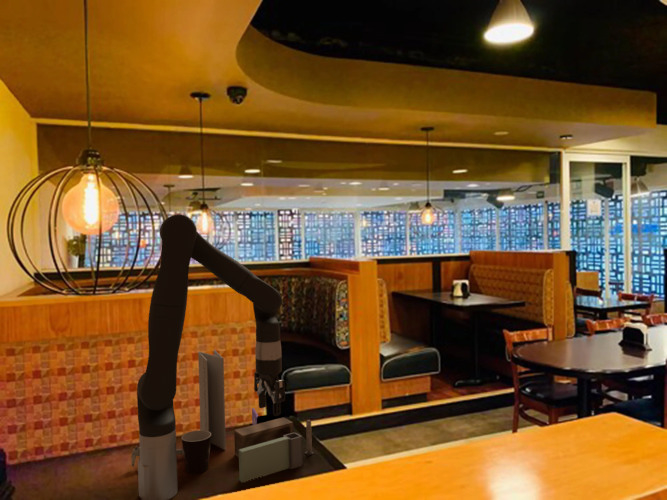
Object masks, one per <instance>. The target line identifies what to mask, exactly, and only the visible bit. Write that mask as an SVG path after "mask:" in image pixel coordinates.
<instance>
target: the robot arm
mask: <svg viewBox="0 0 667 500" xmlns="http://www.w3.org/2000/svg"><path fill="white" fill-rule="evenodd" d="M159 236H160V240H161V250H160V251H161V252H160V253H161V254H160V255H161V256H160V264H159V270H158V273H157V277H156V279H155V281H154V282H155V283H154V285H153V289H152V294H151V297H150V303H149V304H150V305H149V312H148V320H147V324H148V325H147V339H148V340H147V341H148V358H147V365H146V369H145V372H144V373H142V374H141V376H140V377H139V379H138V382H137V385H136V397H137V398H136V401H137V419H138V420H137V423H138V429H139V431H138V432H139V446H140V456H139V457H140V460H139V459H138V460H137V476H138V477H137V478H138V496H139V498H140V499H141V500H171V499H172V498H174V497H175V496H176V495H177V493H178V466H177V465H178V464H177V463H178V462H177V461H178V460H177V456H178V455H176V449H177V429H176V427H177V423H176V421H177V420H176V415H175V409H174V399H175V397H176V395H177V376H178V375H177V373H178V355H179V350H180V346H181V340H182V336H183V330H184V325H185V320H186V313H187V303H188V291H189V269H190V263H191V259H193V260H194V261H196V262H197V263H198V264H200V265H201V266H203V267H204V268H205V269H207V270H208V271H209V272H210V273H212V274H213V275H214V276H215V277H216V278H218V279H219V280H220V281H221V282H223V283H224V284H225V285H226V286H228V287H229V288H231V289H232V290H233V291H235V292H236V293H238V294H239V295H241V296H243V297H245V298H246V299H248V300H249V301H250V302H251V303H252V306H253V315H254V320H255V348H254V349H255V351H254V353H255V372H254V373H253V374H254V375H253V376H254V377H253V378H254V379H253V381H254V382H253V386H254V387H253V390H254V392H255V393H256V395H257V397H258V408H259V409H265V408H266V407H267V393H268V396H269V397H271V400H272V414H273V415H274V416H278V415H280V414H281V413H282V410H281V409H282V408H281V406H282V405H281V403H282V402H286V385H285V384H286V383H285V380H284V379H279V376H278V375H279V374H280V373H281V372H282V371H283V369H282V367H283V365H282V363H283V361H282V358H283V357H282V344H281V343H282V342H281V326H280V321H279V320H278V315H277V311H278V310H279V309H280V308H281V307H282V304H283V297H282V295H281V293H280V292H279V291H278V290H277V289H276V288H274V287H273V286H271V285H270V284H269V283H267V282H266V281H264V280H262V279H261V278H259V277H258V276H257V275H256V274H254V273H253V272H252V271H251V270H249V269H248V268H247V267H246V266H244V265H243V264H242V263H240V261H237V260H236V259H234V257H232V256H230V255H229V254H227V253H225V252H224V251H222V250H220V249H218V248H217V247H215V246H214V245H213V244H211V243H210V242H209V241H208V240H207V239H205V238H204V237H203V236H202V235H201V234H200V233H199V232H198V230H197V225H196V223H195V222H194V220H193V219H192V218H191V217H189V216H188V215H185V214H182V213H179V214H178V213H177V214H173V215H171V216H168V217H167V218H166V219H165V220H163V222H161V224H160V227H159Z"/></svg>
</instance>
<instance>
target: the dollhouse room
mask: <svg viewBox="0 0 667 500" xmlns="http://www.w3.org/2000/svg"><path fill="white" fill-rule="evenodd" d="M283 417H284V418H286V417H285V413H284V412H281V414H280V415H278V416H274V415H273V413H271V414H263V415H258V413H257V411H256V409H255V408H254V407H253V408H251V422H252V423H251V424H249V426H252V425H256V424H260V423H263V422H267V421H271V420H275V419H279V418H283Z"/></svg>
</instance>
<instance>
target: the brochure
mask: <svg viewBox="0 0 667 500" xmlns="http://www.w3.org/2000/svg"><path fill="white" fill-rule="evenodd" d="M197 353H198V354H197V355H198V357H197V358H198V384H199V385H198V388H199V389H198V391H199V392H198V393H199V395H198V396H199V427H200V428H199V429H200V430H204V431H209V432H210V433H211V443H210V444H212V445H214V446H216V447H217V448H220V449H221V450H224V451H226V450H227V447H226V445H227V443H226V441H227V440H226V439H227V438H226V409H225V408H226V404H225V402H226V400H225V366H224V357H223V356H222V355H221V354H220V353H218V351H217V350H215V349H213V354H210V353H207V352H203V351H197Z"/></svg>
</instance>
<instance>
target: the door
mask: <svg viewBox="0 0 667 500" xmlns="http://www.w3.org/2000/svg"><path fill="white" fill-rule="evenodd" d="M303 446H304V445H303V435H301V434H299V433H298V432H294V431H293V433H290V434H286V435H283V437H282V438H278V439H275V440H271V441H267V442H264V443H260V444H257V445H253V446H250V447H246V448H243V449H239V458H238V471H239V472H238V473H239V474H238V475H239V477H238V478H239V479H238V480H239V482H240V483H242V484H244V483H247V482H249V481H248V480H250V481H252V480H251V479H253V480H255V479H254V478H257V479H259V478H258V477H260V478H263V477H266V476H269V475H272V474H275V473H278V472H281V471H285V470H288V469H289V470H293V469H296V468H300V467H304V461H303V460H304V454H303V452H304V450H303ZM262 476H263V477H262ZM246 481H247V482H246ZM243 482H244V483H243Z"/></svg>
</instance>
